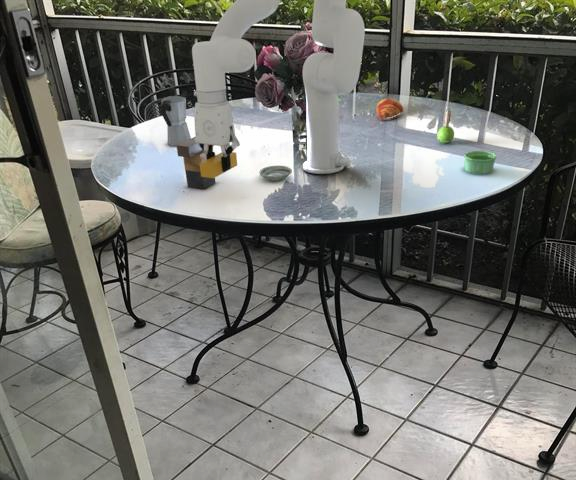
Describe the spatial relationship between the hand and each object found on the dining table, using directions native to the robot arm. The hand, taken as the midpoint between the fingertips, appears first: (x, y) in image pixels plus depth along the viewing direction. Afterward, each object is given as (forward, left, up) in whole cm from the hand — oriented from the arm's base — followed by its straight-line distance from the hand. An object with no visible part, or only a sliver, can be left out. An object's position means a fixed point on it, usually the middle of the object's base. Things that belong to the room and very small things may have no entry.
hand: (219, 168), depth 167 cm
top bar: (0, 0, -1) cm, 1 cm away
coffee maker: (+44, -39, -8) cm, 60 cm away
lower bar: (+11, -6, +2) cm, 13 cm away
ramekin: (-60, -47, -8) cm, 76 cm away
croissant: (-13, -98, -8) cm, 99 cm away
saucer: (-7, -19, -8) cm, 22 cm away
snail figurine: (-43, -70, -8) cm, 83 cm away
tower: (+11, -6, -8) cm, 15 cm away
